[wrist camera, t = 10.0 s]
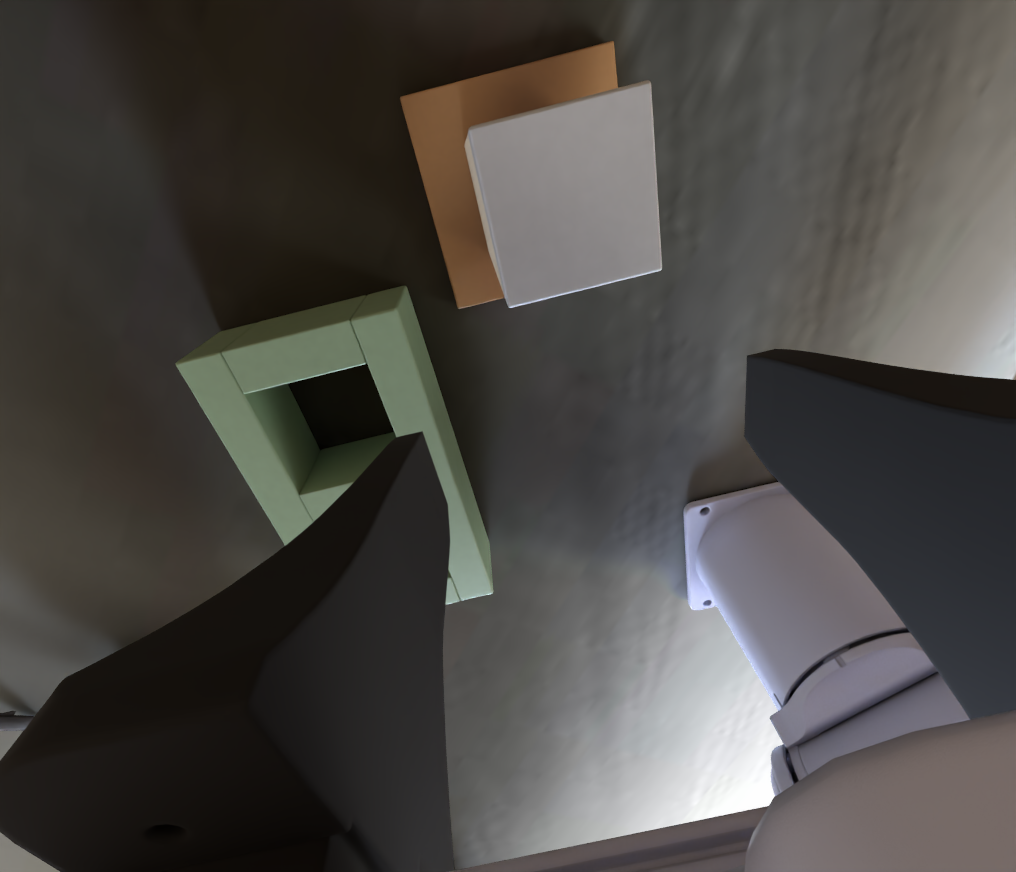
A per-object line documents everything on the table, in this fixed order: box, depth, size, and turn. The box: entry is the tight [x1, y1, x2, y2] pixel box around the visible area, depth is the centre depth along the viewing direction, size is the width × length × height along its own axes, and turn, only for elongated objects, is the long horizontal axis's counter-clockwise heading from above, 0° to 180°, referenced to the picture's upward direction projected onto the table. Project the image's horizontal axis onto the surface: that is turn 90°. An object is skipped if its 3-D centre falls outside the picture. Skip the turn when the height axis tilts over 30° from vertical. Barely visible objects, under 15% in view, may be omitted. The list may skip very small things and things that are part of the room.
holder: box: [176, 286, 493, 604], centre depth 21 cm, size 8×14×4 cm, turn 13°
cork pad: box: [400, 41, 618, 309], centre depth 17 cm, size 7×7×1 cm
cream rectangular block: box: [464, 80, 662, 308], centre depth 14 cm, size 4×4×8 cm
